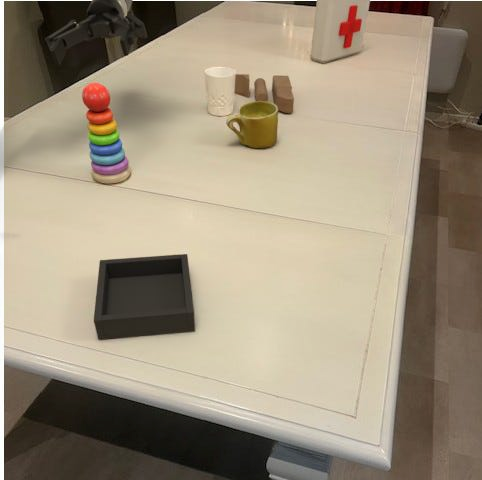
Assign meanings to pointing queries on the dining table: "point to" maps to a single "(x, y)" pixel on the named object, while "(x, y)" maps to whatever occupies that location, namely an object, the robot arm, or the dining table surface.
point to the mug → (256, 124)
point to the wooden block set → (279, 90)
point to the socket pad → (143, 297)
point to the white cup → (220, 90)
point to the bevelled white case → (338, 29)
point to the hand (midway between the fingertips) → (89, 53)
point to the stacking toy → (104, 137)
